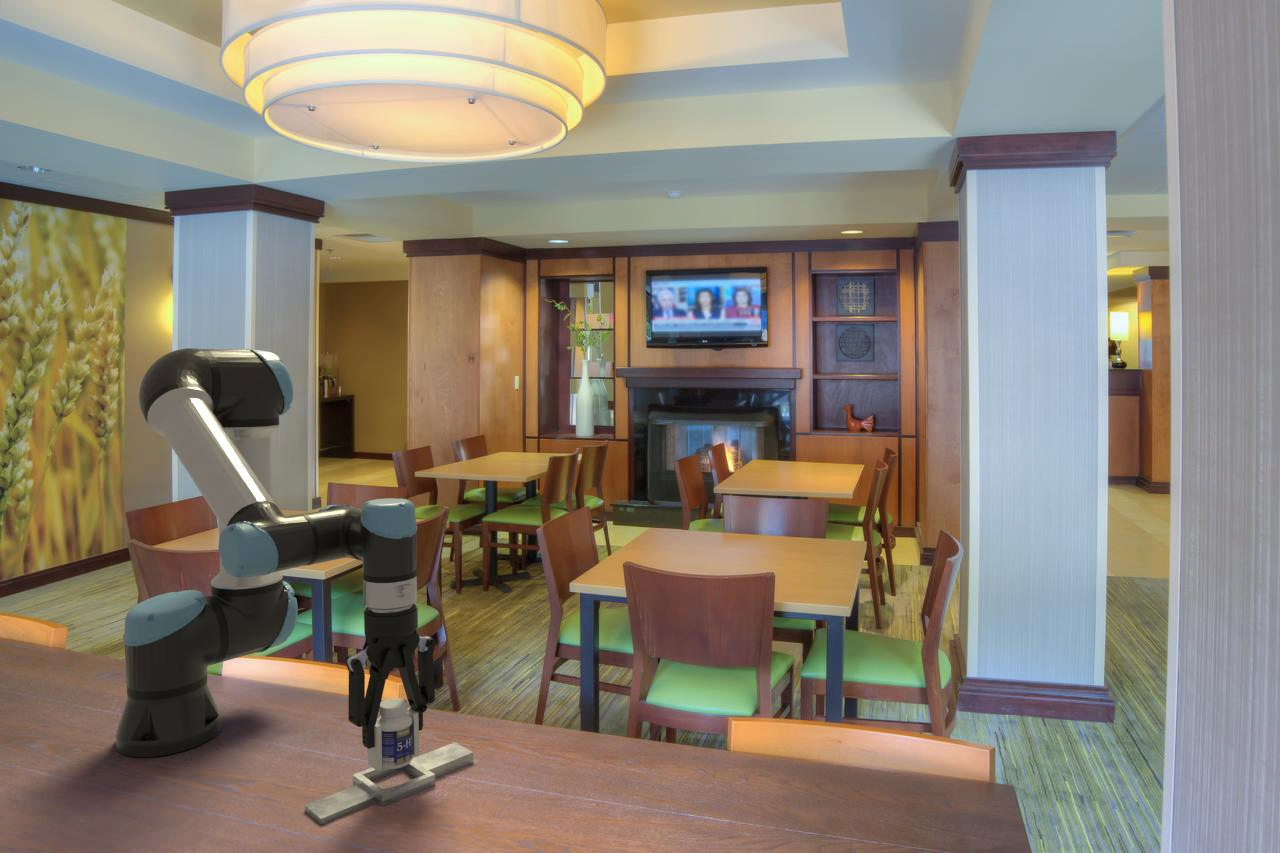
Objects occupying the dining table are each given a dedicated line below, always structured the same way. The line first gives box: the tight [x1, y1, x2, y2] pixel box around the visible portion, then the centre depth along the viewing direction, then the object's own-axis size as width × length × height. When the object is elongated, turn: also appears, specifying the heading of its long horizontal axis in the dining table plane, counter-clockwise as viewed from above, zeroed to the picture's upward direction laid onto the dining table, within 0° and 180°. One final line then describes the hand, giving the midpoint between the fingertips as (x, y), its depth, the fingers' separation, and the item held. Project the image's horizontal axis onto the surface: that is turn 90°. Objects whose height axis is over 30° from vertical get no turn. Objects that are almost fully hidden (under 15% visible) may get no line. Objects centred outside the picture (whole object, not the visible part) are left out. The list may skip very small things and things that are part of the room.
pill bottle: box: [376, 697, 414, 769], centre depth 121 cm, size 5×5×9 cm
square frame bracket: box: [304, 741, 474, 825], centre depth 122 cm, size 25×9×2 cm, turn 136°
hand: (393, 759), depth 121 cm, fingers closed on pill bottle, 5 cm apart
